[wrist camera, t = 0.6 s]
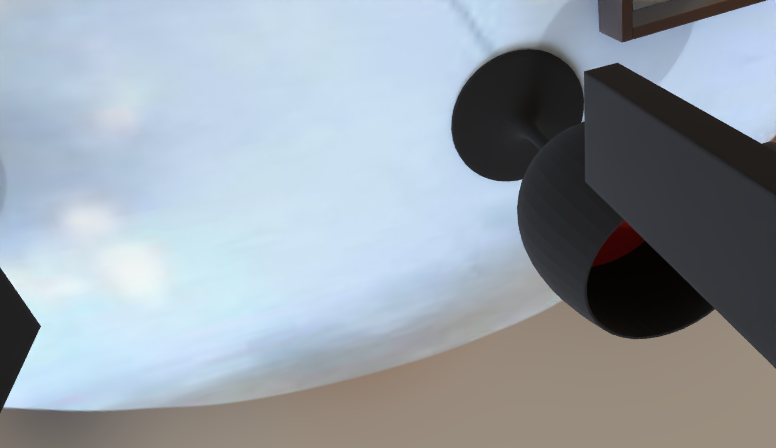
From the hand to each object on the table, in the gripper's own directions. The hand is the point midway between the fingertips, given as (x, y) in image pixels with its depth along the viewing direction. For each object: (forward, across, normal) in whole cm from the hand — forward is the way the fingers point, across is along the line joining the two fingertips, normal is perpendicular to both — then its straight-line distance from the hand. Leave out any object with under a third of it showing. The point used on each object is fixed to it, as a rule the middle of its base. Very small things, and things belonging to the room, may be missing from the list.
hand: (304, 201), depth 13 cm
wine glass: (+29, +15, -13) cm, 35 cm away
